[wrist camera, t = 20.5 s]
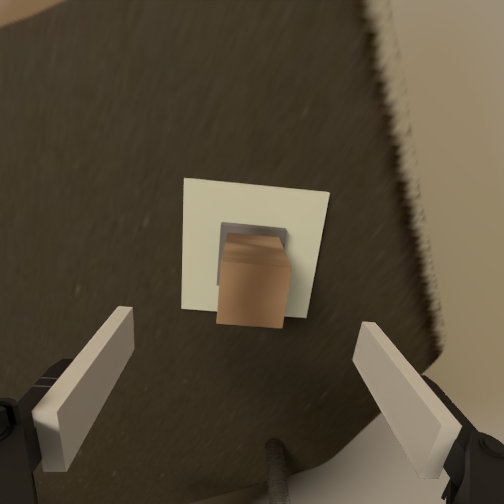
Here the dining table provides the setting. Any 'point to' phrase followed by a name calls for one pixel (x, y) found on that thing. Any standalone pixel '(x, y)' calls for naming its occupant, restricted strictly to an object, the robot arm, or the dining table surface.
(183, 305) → the sage mat
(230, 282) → the brown boxy piece
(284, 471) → the grey l-shaped handle
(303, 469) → the dining table surface
